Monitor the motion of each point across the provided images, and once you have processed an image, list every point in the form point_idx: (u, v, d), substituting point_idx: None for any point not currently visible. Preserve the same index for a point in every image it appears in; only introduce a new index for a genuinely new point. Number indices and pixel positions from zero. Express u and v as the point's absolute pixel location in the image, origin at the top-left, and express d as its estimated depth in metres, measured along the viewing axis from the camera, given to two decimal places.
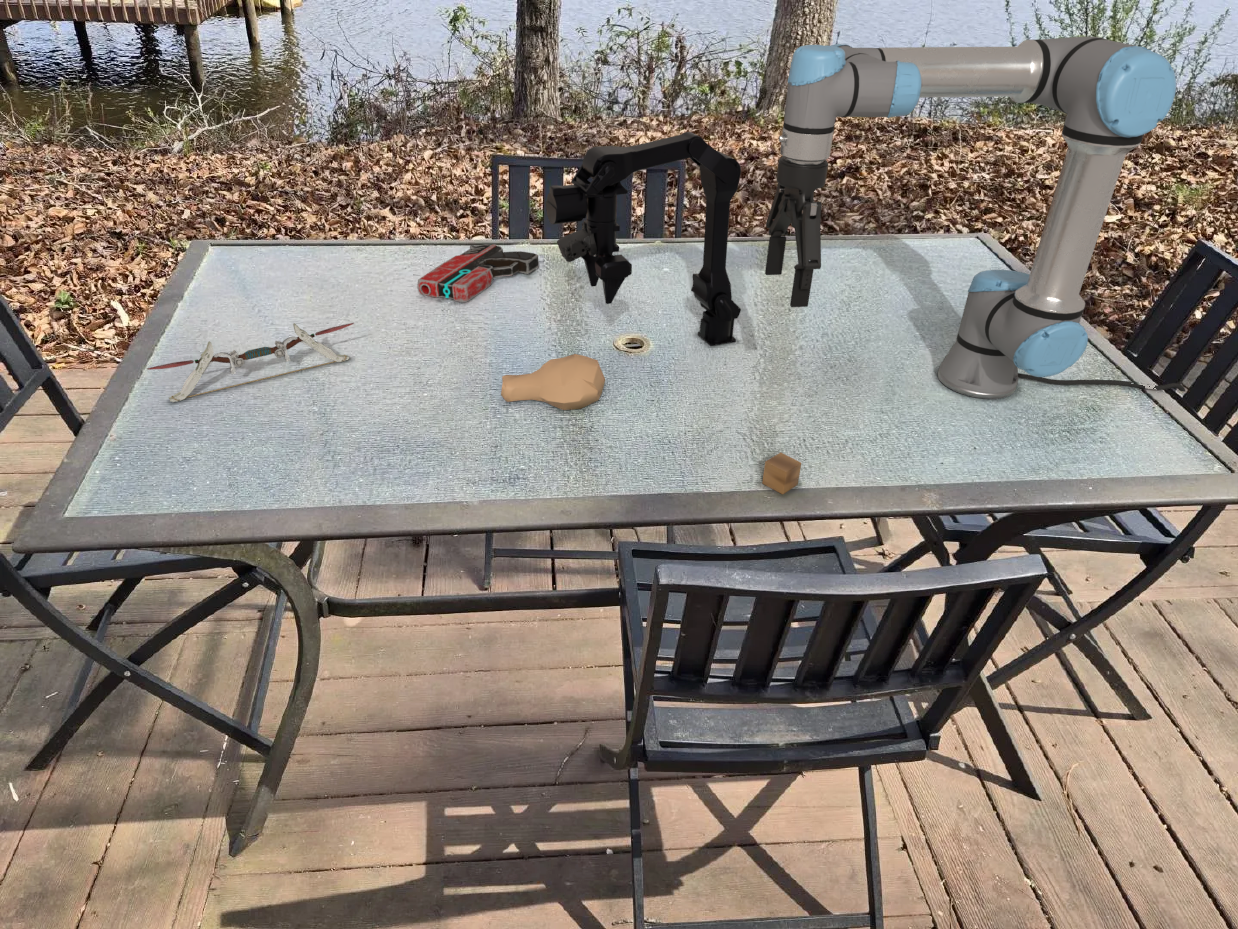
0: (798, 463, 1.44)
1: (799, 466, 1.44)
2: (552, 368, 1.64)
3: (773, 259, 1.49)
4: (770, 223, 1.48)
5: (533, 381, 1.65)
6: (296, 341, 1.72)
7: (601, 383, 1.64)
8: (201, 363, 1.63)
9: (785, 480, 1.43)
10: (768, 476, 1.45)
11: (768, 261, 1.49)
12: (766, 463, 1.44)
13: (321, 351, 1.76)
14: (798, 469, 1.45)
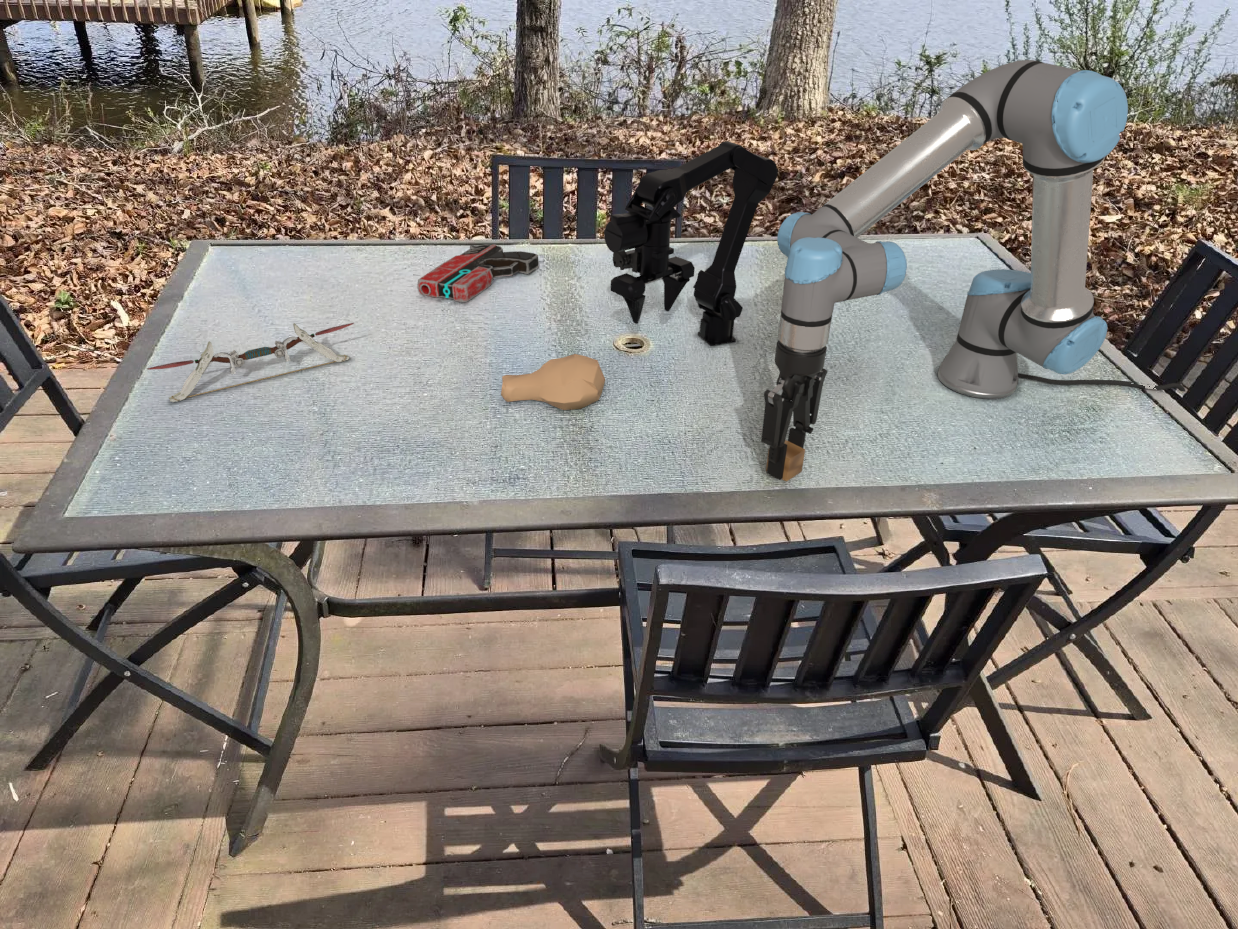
0: (802, 450, 1.43)
1: (803, 453, 1.43)
2: (552, 368, 1.64)
3: None
4: None
5: (533, 381, 1.65)
6: (296, 341, 1.72)
7: (601, 383, 1.64)
8: (201, 363, 1.63)
9: (789, 467, 1.42)
10: None
11: None
12: None
13: (321, 351, 1.76)
14: (802, 456, 1.43)
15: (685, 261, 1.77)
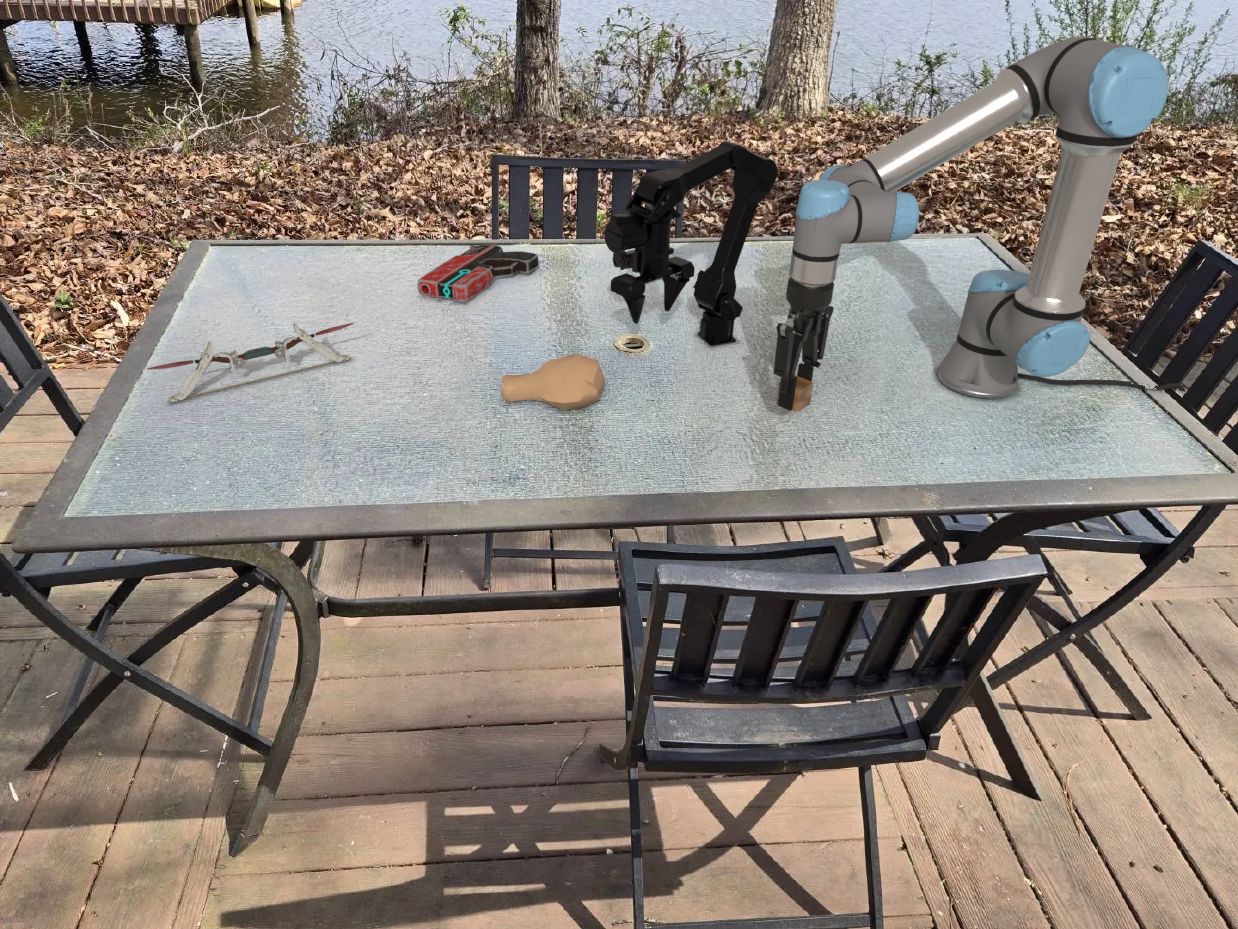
0: (810, 383, 1.54)
1: (811, 386, 1.54)
2: (552, 368, 1.64)
3: None
4: None
5: (533, 381, 1.65)
6: (296, 341, 1.72)
7: (601, 383, 1.64)
8: (201, 363, 1.63)
9: (799, 398, 1.53)
10: None
11: None
12: None
13: (321, 351, 1.76)
14: (810, 388, 1.55)
15: (685, 261, 1.77)
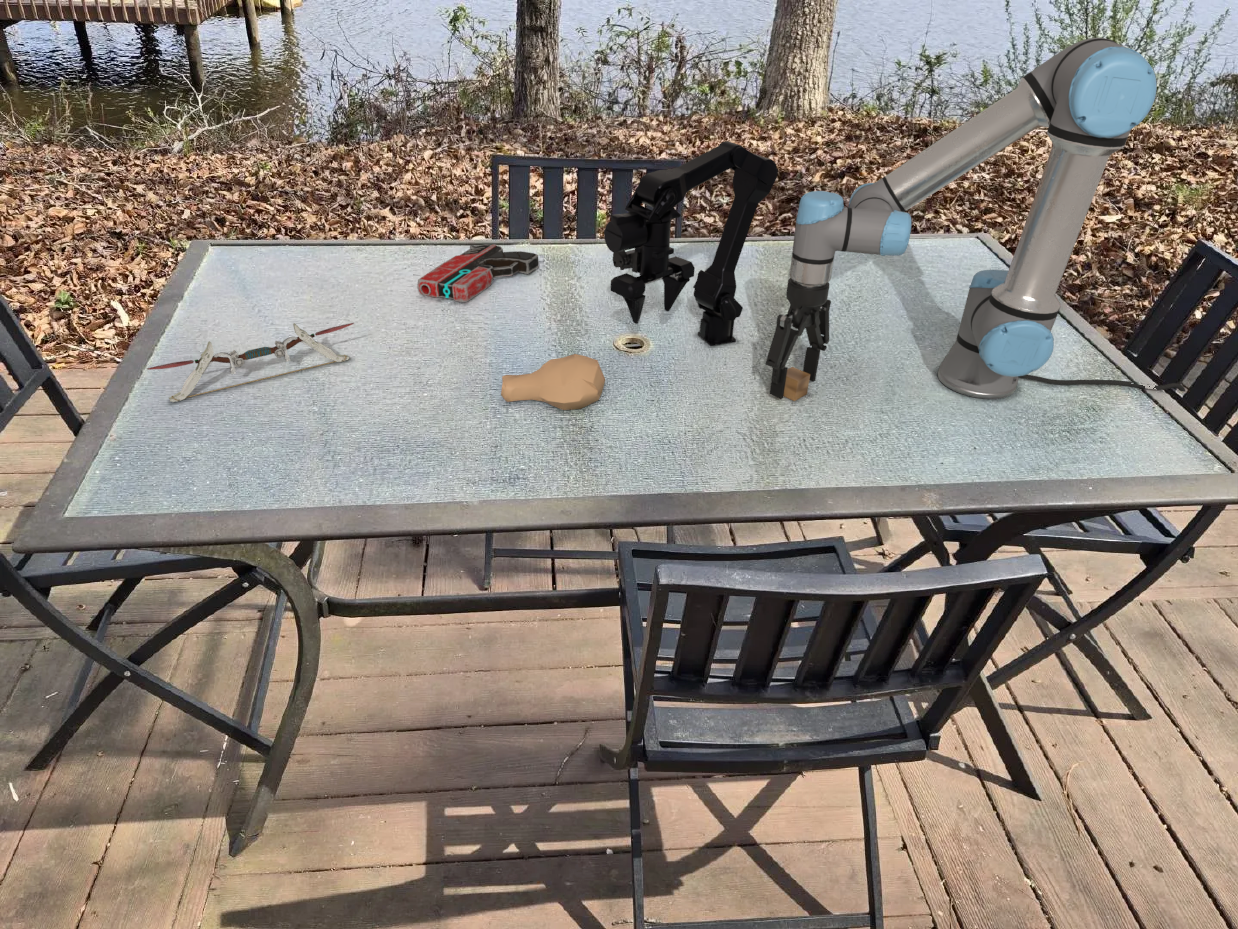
0: (807, 374, 1.70)
1: (808, 377, 1.71)
2: (552, 368, 1.64)
3: (807, 366, 1.74)
4: None
5: (533, 381, 1.65)
6: (296, 341, 1.72)
7: (601, 383, 1.64)
8: (201, 363, 1.63)
9: (797, 388, 1.69)
10: None
11: (804, 366, 1.75)
12: None
13: (321, 351, 1.76)
14: (807, 380, 1.71)
15: (685, 261, 1.77)
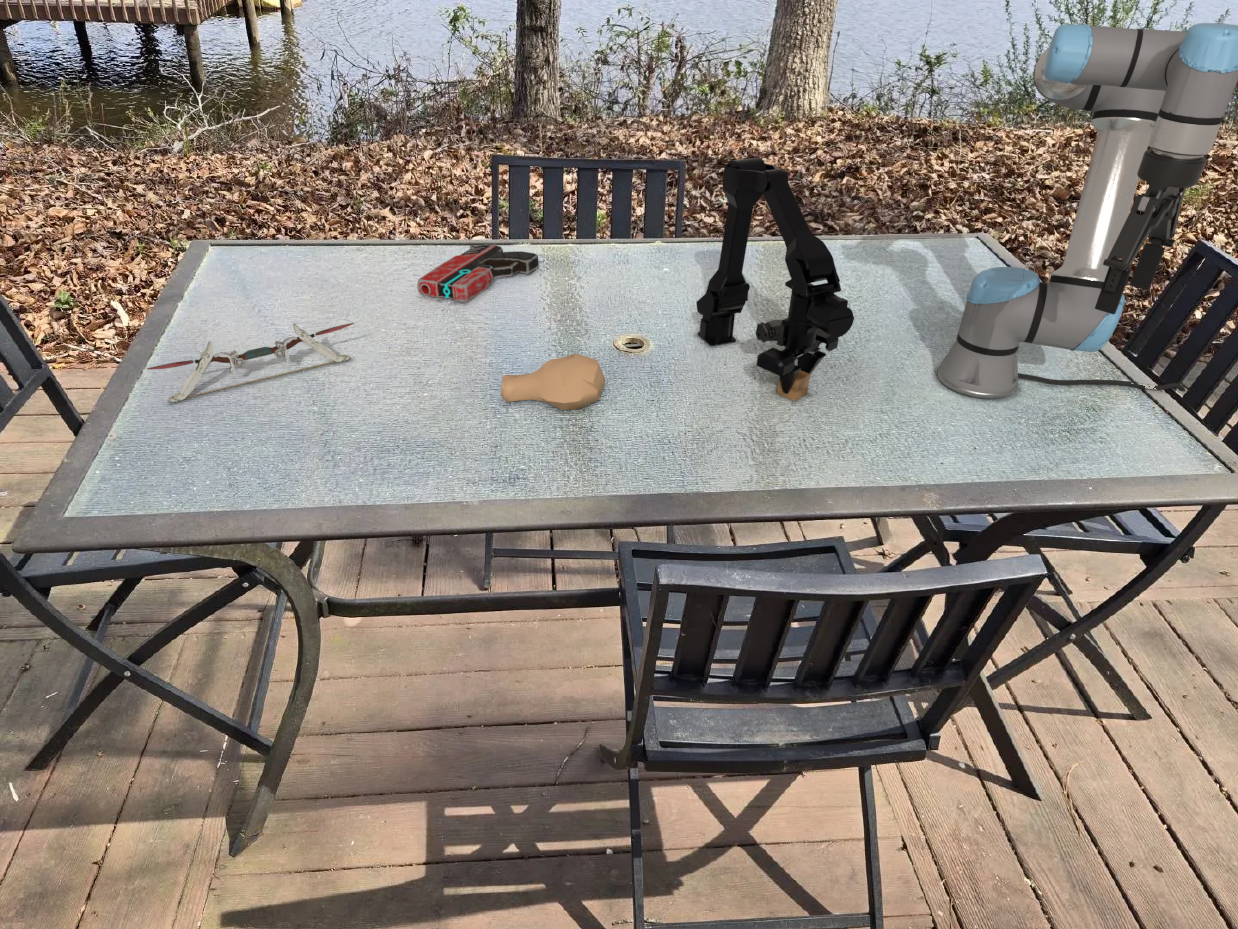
0: (807, 374, 1.70)
1: (808, 377, 1.71)
2: (552, 368, 1.64)
3: (1142, 269, 1.33)
4: None
5: (533, 381, 1.65)
6: (296, 341, 1.72)
7: (601, 383, 1.64)
8: (201, 363, 1.63)
9: (797, 388, 1.69)
10: None
11: (1135, 270, 1.34)
12: None
13: (321, 351, 1.76)
14: (807, 380, 1.71)
15: None
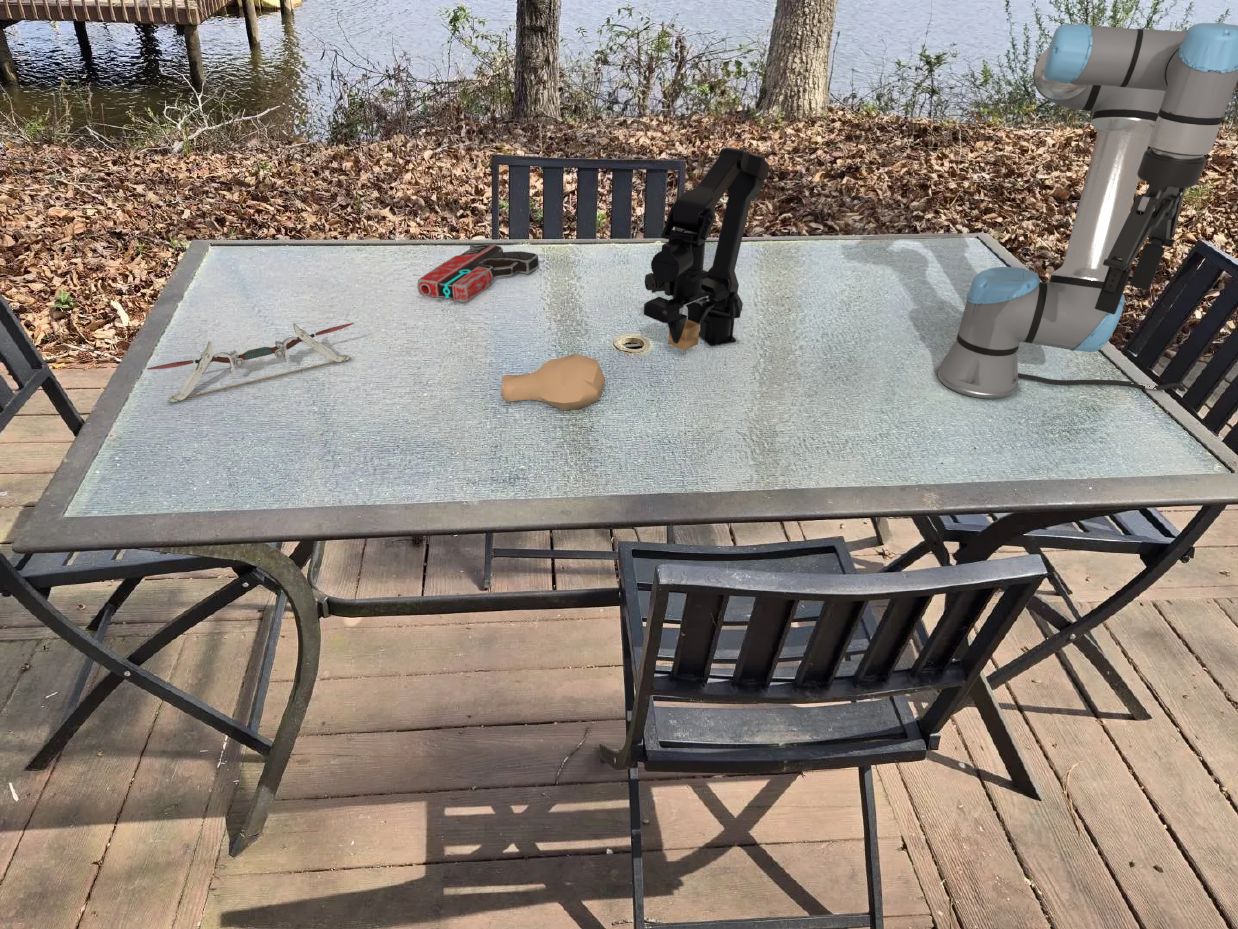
0: (696, 324, 1.75)
1: (697, 327, 1.75)
2: (552, 368, 1.64)
3: (1142, 269, 1.33)
4: None
5: (533, 381, 1.65)
6: (296, 341, 1.72)
7: (601, 383, 1.64)
8: (201, 363, 1.63)
9: (686, 337, 1.73)
10: None
11: (1135, 270, 1.34)
12: None
13: (321, 351, 1.76)
14: (697, 329, 1.75)
15: (717, 283, 1.75)
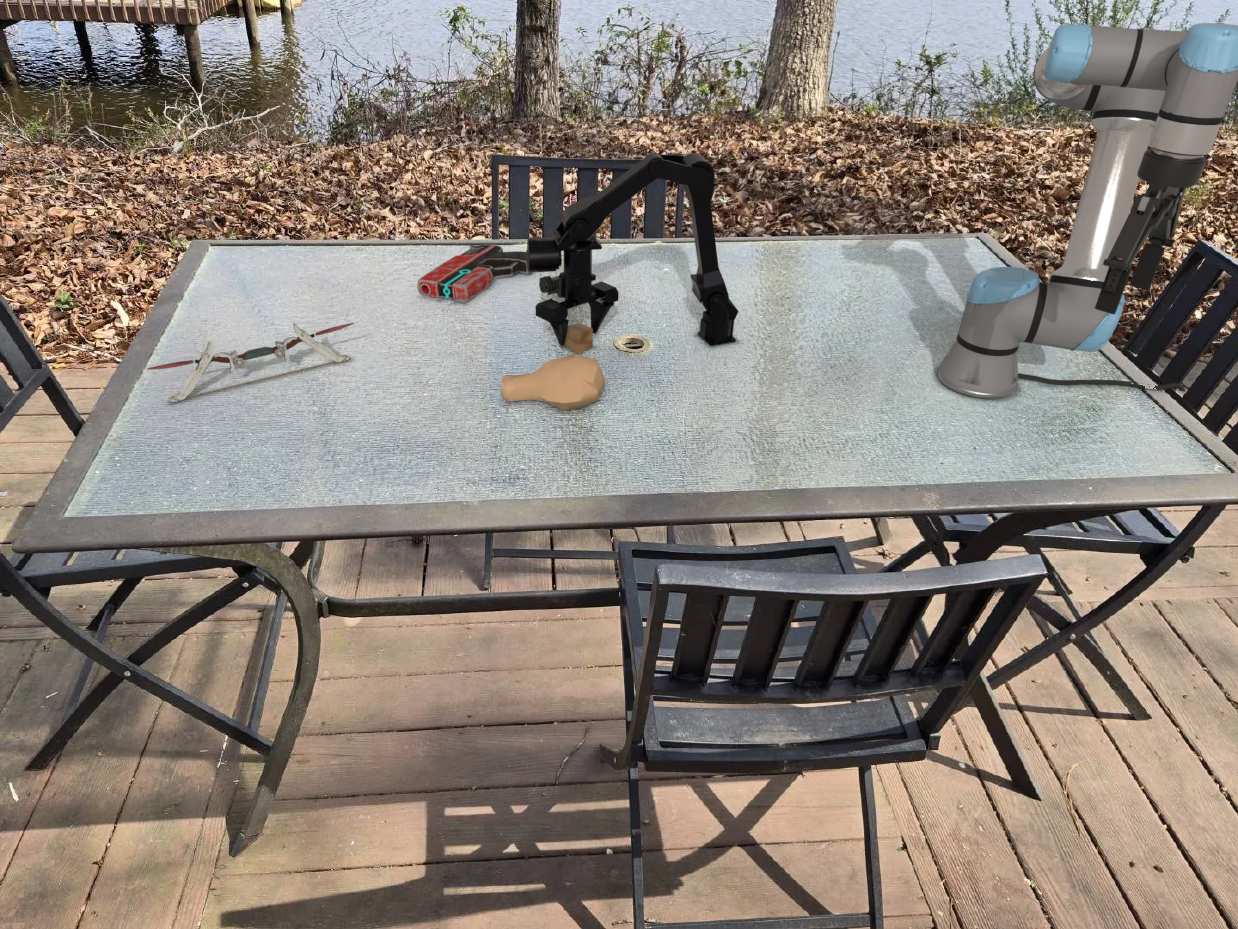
0: (590, 328, 1.85)
1: (591, 331, 1.85)
2: (552, 368, 1.64)
3: (1142, 269, 1.33)
4: None
5: (533, 381, 1.65)
6: (296, 341, 1.72)
7: (601, 383, 1.64)
8: (201, 363, 1.63)
9: (578, 341, 1.84)
10: (567, 340, 1.86)
11: (1135, 270, 1.34)
12: None
13: (321, 351, 1.76)
14: (590, 333, 1.86)
15: (609, 286, 1.85)
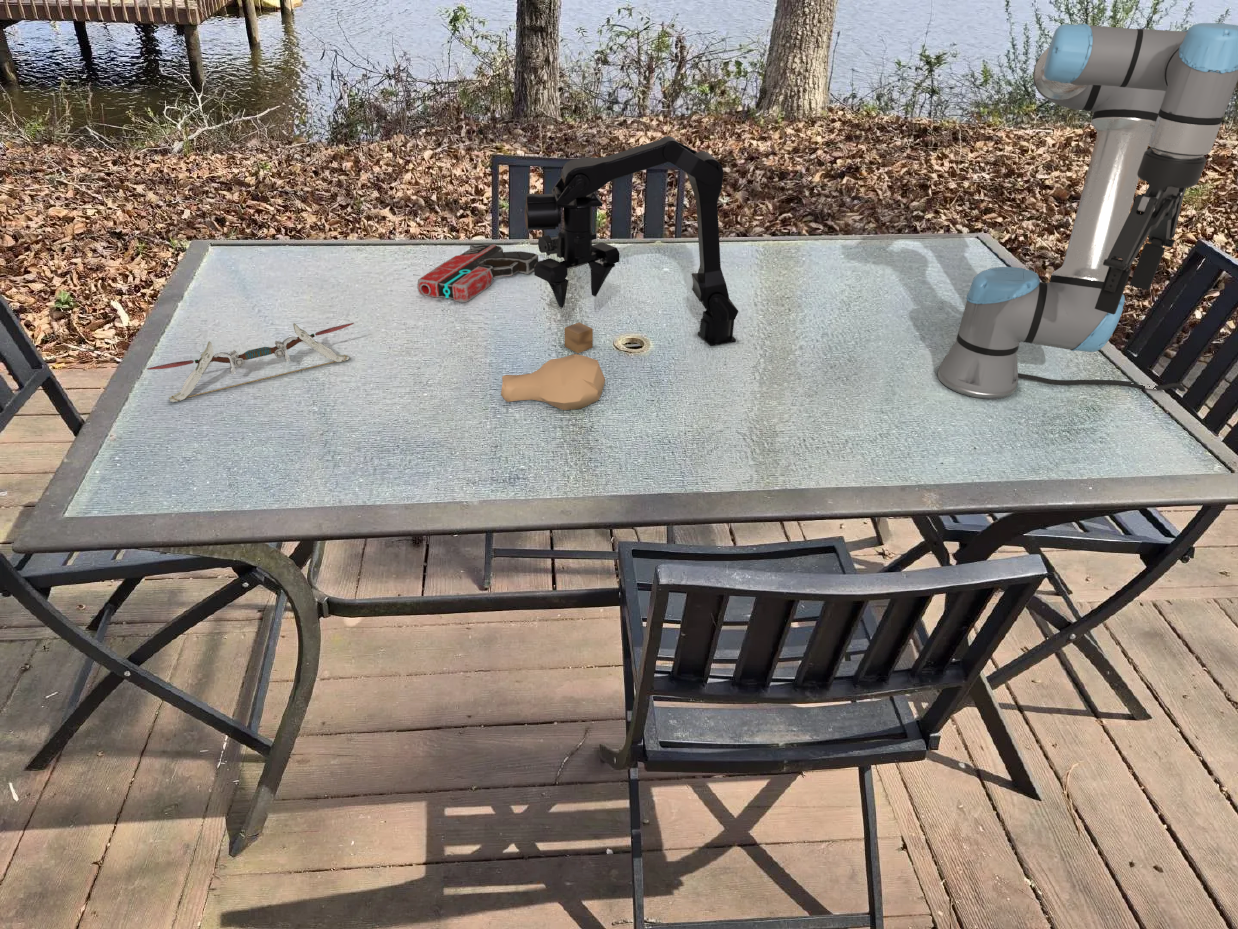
0: (590, 328, 1.85)
1: (591, 331, 1.85)
2: (552, 368, 1.64)
3: (1142, 269, 1.33)
4: None
5: (533, 381, 1.65)
6: (296, 341, 1.72)
7: (601, 383, 1.64)
8: (201, 363, 1.63)
9: (578, 341, 1.84)
10: (567, 340, 1.86)
11: (1135, 270, 1.34)
12: (565, 329, 1.85)
13: (321, 351, 1.76)
14: (590, 333, 1.86)
15: (610, 247, 1.81)
